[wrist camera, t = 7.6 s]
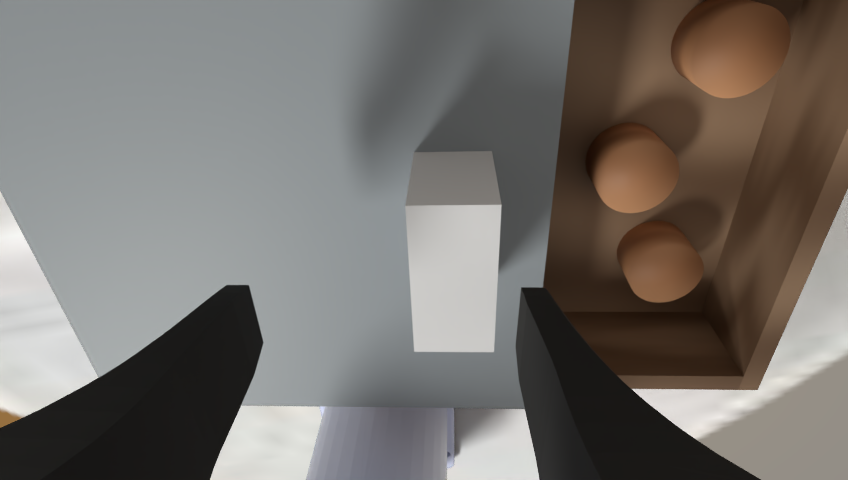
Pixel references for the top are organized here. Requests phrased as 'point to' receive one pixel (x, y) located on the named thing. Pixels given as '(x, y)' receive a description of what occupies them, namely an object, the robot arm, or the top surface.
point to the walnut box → (696, 180)
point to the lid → (293, 180)
